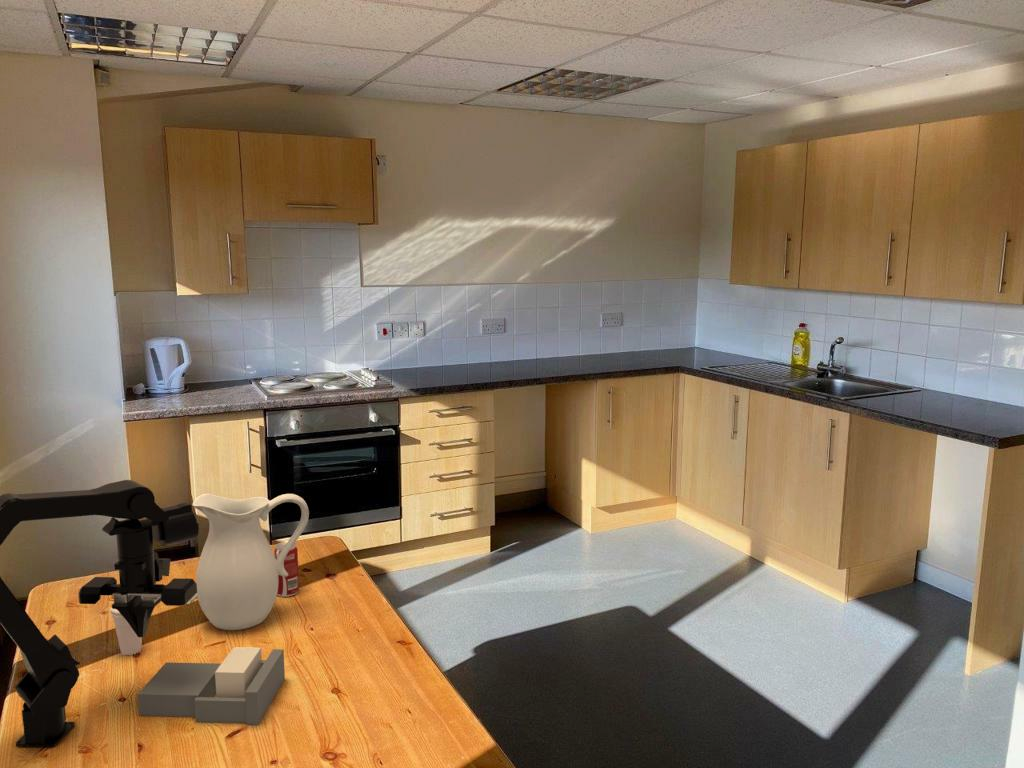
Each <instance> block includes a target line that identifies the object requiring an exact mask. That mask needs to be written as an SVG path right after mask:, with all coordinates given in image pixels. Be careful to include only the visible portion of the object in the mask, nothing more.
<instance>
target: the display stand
mask: <svg viewBox="0 0 1024 768" xmlns="http://www.w3.org/2000/svg"><path fill="white" fill-rule="evenodd" d="M284 652H285V651H284V649H281V648H280V649H278V648H277V649H276V648H274V649H273V648H272V650H271V652H270V653H269V654H268V656H267V657H266V659H265V660H263V659H262V667H261V669H260V670H259V672H258V673H257V675H256V676H255V678H254V679H253V681H252V682H251V684H250V685H249V687H248V689H247V690H246V692H245V698H216V697H215V696H216V681H215V672H216V670H217V669H218V668H219V666H220V665H221V664H222V663H219V662H218V663H215V662H213V663H212V662H210V663H209V662H208V663H207V662H170V661H169V662H167V661H166V662H165V663H164V664H163V665H162V667H160V668H159V669H158V671H157V672H156V673H155V674H154V675H153V676H152V678H151V679H149V681H148V682H147V683H146V684H145V685H144V686H143V687H142V689H141V690H140V691H139V692H138V693H137V703H138V704H137V705H138V714H139V715H138V716H145V717H147V716H148V717H183V718H184V717H187V718H189V717H190V718H191V717H192V718H194V717H195V723H226V724H227V723H228V724H229V723H232V724H233V723H234V724H238V723H239V724H246V726H251V725H252V726H259V725H260V722H261V721H262V720H263V718H264V716H265V715H266V713H267V711H268V709H269V708H270V705H272V702H274V700H275V697H276V695H277V693H278V692H279V690H280V688H281V687H282V685H283V683H284V681H285V679H286V676H285V674H286V673H285V653H284Z"/></svg>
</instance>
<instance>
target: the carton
mask: <svg viewBox="0 0 1024 768" xmlns="http://www.w3.org/2000/svg"><path fill="white" fill-rule="evenodd" d="M262 660H263V659H262V647H246V646H243V647H241V646H240V647H238V646H237V647H236V646H234V647H233V648H232V649H231V651H229V653H228V655H226V657H225V658H224V660H223V661H222V662H221V663H220V664H221V665H220V666H219V668H218V669H217V670H216V672H215V681H216V694H215V698H245V692H246V690H247V689H248V687H249V685H250V684H251V682H252V681H253V679H254V678H255V676H256V675H257V673H258V672H259V670H260V669H261V667H262Z"/></svg>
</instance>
